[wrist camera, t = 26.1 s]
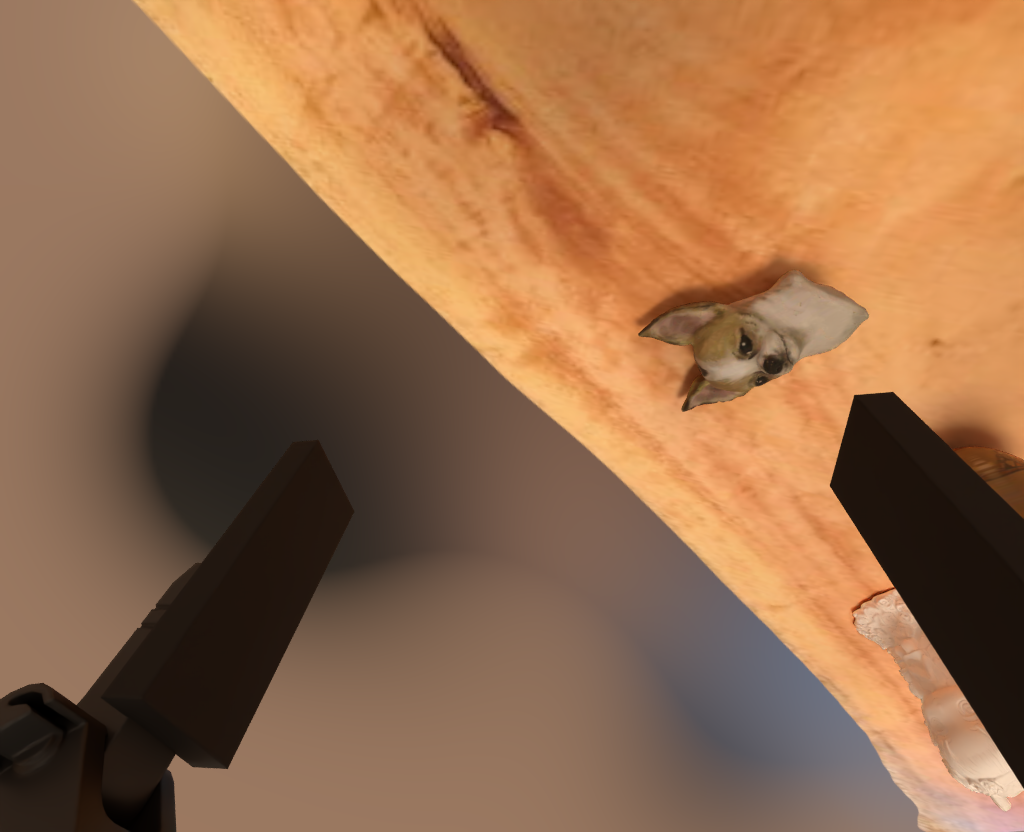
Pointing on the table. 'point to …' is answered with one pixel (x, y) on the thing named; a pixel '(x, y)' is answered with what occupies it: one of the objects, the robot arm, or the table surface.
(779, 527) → the table surface
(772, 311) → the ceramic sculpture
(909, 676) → the cherub figurine
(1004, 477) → the ceramic vessel
